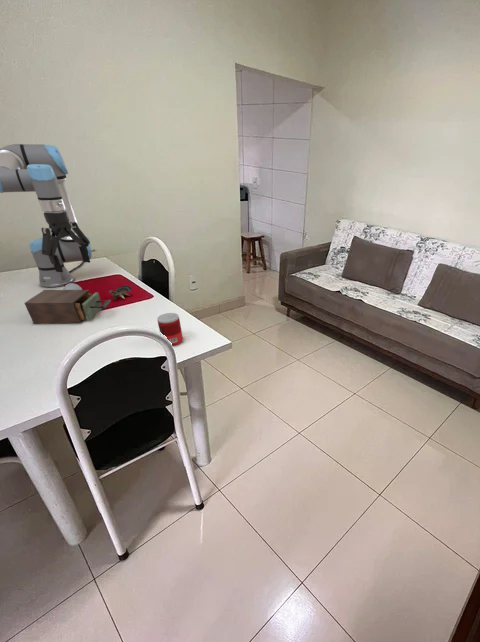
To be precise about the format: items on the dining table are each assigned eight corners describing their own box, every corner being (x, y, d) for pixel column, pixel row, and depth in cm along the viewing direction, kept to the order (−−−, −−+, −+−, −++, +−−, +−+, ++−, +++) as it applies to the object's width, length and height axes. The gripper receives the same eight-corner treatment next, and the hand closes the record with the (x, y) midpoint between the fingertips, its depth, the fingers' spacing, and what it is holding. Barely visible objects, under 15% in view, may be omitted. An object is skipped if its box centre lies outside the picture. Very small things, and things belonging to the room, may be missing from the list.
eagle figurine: (121, 301, 158) (135, 291, 164) (110, 289, 155) (125, 280, 161) (116, 305, 163) (129, 296, 169) (105, 293, 160) (119, 285, 166)
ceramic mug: (63, 304, 155) (57, 289, 151) (67, 298, 162) (62, 283, 158) (88, 303, 158) (83, 288, 154) (91, 296, 165) (87, 282, 161)
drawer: (116, 308, 152) (111, 292, 148) (104, 320, 141) (99, 304, 137) (63, 308, 150) (56, 292, 146) (47, 321, 139) (39, 304, 135)
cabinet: (94, 309, 152) (88, 289, 147) (80, 323, 140) (72, 302, 135) (52, 309, 150) (44, 289, 145) (33, 324, 139) (24, 303, 133)
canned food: (187, 338, 133) (182, 314, 127) (174, 348, 126) (169, 323, 120) (171, 335, 135) (166, 311, 129) (158, 344, 128) (152, 319, 122)
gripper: (31, 217, 112) (54, 277, 123) (89, 207, 132) (104, 259, 143) (14, 216, 113) (38, 275, 125) (74, 206, 134) (90, 257, 145)
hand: (74, 266), depth 134 cm, fingers open, 13 cm apart
